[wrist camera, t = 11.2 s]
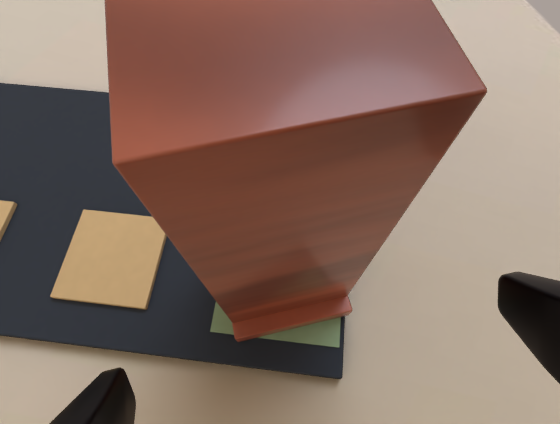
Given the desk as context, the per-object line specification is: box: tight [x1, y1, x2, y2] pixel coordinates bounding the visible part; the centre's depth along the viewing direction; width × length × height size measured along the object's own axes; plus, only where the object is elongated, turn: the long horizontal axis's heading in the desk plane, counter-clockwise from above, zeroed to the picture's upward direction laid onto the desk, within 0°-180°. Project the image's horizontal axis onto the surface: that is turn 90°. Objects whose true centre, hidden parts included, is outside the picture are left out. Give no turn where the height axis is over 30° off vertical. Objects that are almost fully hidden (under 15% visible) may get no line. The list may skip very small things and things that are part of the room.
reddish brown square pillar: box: [105, 0, 487, 342], centre depth 11 cm, size 5×5×13 cm
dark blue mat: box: [0, 83, 345, 379], centre depth 19 cm, size 24×14×1 cm, turn 83°
